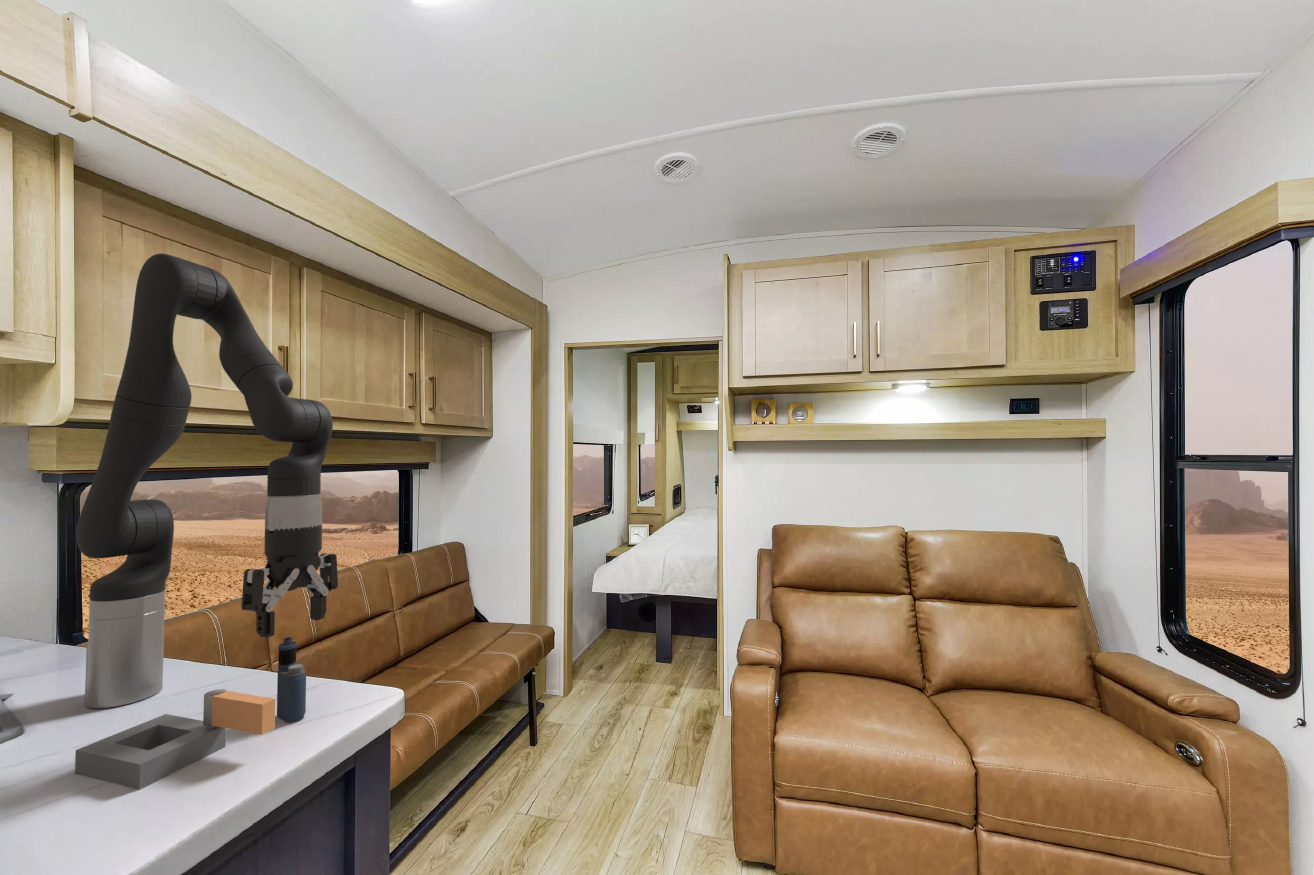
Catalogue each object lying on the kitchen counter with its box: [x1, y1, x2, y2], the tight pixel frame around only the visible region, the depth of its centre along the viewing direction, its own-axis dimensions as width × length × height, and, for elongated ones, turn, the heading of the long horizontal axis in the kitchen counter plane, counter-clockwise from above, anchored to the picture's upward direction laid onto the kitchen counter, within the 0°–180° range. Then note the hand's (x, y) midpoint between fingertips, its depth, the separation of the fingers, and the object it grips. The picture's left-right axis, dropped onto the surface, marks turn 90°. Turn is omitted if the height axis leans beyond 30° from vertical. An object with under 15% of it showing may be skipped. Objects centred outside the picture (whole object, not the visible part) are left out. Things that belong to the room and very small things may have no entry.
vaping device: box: [276, 636, 307, 724], centre depth 84 cm, size 3×5×12 cm, turn 59°
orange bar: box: [202, 688, 276, 736], centre depth 74 cm, size 11×2×4 cm, turn 74°
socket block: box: [74, 713, 227, 790], centre depth 72 cm, size 12×10×3 cm
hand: (293, 627), depth 84 cm, fingers open, 8 cm apart
